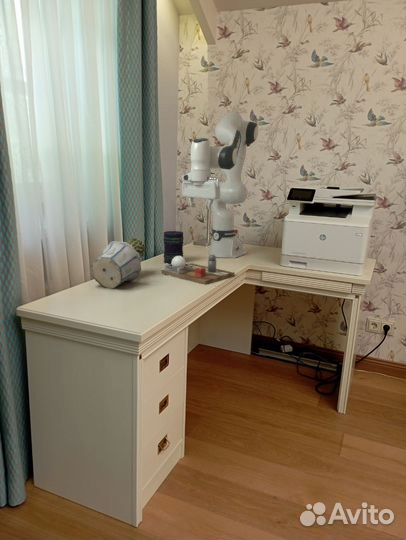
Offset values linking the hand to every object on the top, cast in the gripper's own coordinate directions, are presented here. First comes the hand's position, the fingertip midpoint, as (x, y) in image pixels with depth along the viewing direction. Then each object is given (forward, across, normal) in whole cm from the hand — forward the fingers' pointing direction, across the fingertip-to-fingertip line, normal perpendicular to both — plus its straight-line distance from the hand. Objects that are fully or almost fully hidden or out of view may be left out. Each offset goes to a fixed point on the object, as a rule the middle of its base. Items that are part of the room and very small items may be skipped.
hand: (200, 208), depth 192 cm
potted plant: (+28, +10, +37) cm, 47 cm away
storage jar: (+29, +20, -2) cm, 36 cm away
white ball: (+26, +2, +13) cm, 29 cm away
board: (+28, -5, +8) cm, 30 cm away
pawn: (+27, -10, +4) cm, 29 cm away
